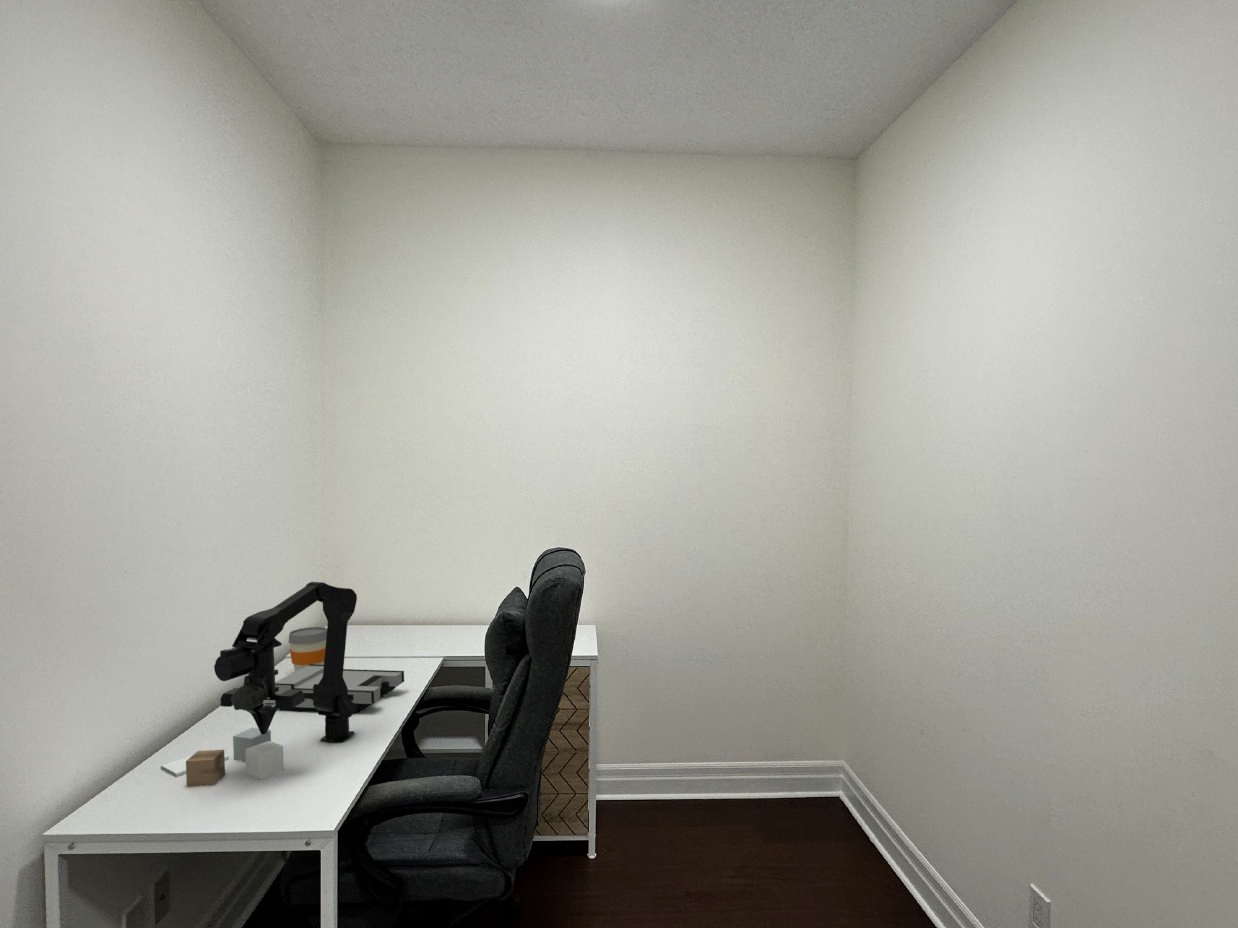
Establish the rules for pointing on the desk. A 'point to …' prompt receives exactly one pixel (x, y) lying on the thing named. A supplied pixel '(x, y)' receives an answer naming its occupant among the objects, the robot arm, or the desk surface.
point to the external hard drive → (179, 766)
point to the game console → (359, 683)
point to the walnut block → (205, 768)
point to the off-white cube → (264, 759)
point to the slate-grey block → (248, 741)
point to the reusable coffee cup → (307, 646)
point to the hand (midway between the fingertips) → (264, 733)
